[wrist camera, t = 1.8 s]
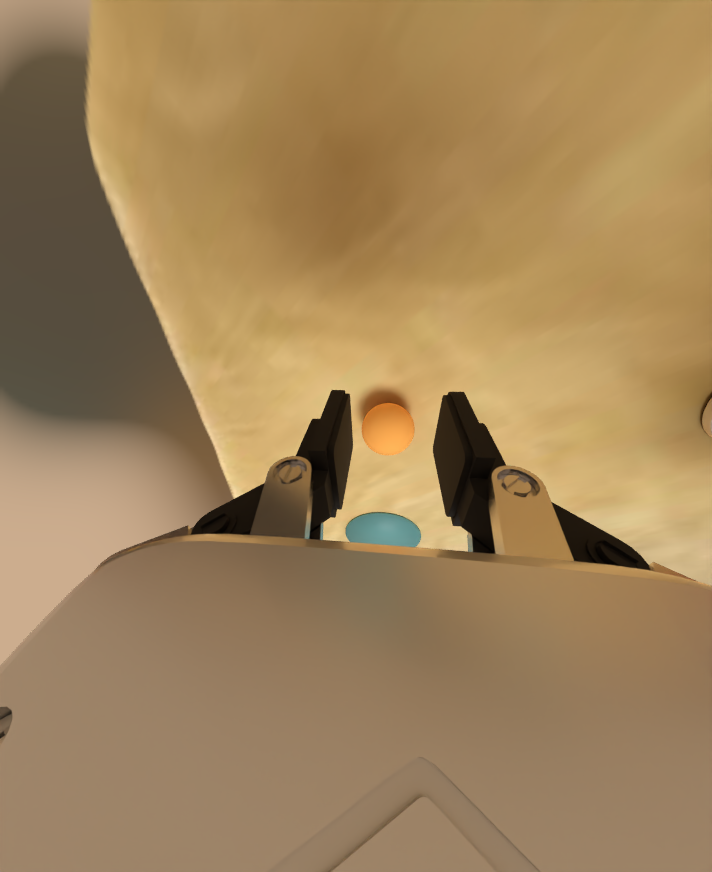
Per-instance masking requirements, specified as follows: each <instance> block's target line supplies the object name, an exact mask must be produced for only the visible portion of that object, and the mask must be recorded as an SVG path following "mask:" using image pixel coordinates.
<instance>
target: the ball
mask: <svg viewBox="0 0 712 872" xmlns="http://www.w3.org/2000/svg"><path fill="white" fill-rule="evenodd" d="M362 435H363V438H364V441H365V443H366V444H367V445H368V447H369V448H370V449H372V450H373V451H374V452H376V453H379V454H382V455H394V454H398V453H400V452H402V451H403V450H405V449H406V448H407V447H408V446H409V444H410V443H411V441H412V439H413V436H414V422H413V419H412V417H411V415H410V414H409V413H408V412H407V410H406V409H404V408H403V407H401V406H399V405H397V404H393V403H383V404H380V405H377V406H375V407H374V408H372V409H371V410H370V411H369V412H368V413H367V414H366V416H365V418H364V420H363V424H362Z"/></svg>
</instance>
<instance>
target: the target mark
mask: <svg viewBox="0 0 712 872" xmlns="http://www.w3.org/2000/svg"><path fill="white" fill-rule="evenodd" d="M346 536H347V538H348V540H349V541H350V542H354V543H367V544H379V545H392V546H404V547H416V546H417V545H418V544H419V542H420V539H421V534H420V530H419V529H418V527H417V526H416V525H415V524H414V523H413V522H412V521H410V520H408V519H406V518H404V517H402V516H399V515H395V514H390V513H368V514H364V515H361V516H358V517H356V518H354V519H353V520H351V521H350V522H349V524H348V525H347V527H346Z"/></svg>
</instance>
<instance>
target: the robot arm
mask: <svg viewBox="0 0 712 872" xmlns="http://www.w3.org/2000/svg"><path fill="white" fill-rule="evenodd" d="M702 424H703V429H704V430H705V432H706V433H707V434H708V435H709V436H710V437H712V398H711V399H710V400H709V402H708V404H707V406H706V408H705V410H704V412H703V418H702ZM352 449H353V437H352V421H351V405H350V394H345V390H332V391H331V393H330V396H329V398H328V401H327V403H326V406H325V408H324V411H323V413H322V416H321V418H320V419H312V420H311V422H310V425H309V427H308V429H307V432H306V434H305V436H304V438H303V441H302V443H301V445H300V447H299V450H298V452H297V454H296V456H291V457H286V458H283V459H281V460H279V461H277V462H276V463H274V464H273V465H272V466H271V467H270V469H269V471H268V474H267V477H266V481H265V483H264V484H262V485H260V486H258V487H256V488H254V489H252V490H251V491H249V492H247V493H245V494H243V495H241V496H239V497H237V498H235V499H233V500H231V501H230V502H228V503H226V504H224V505H222V506H220V507H218V508H216V509H214V510H212V511H211V512H209V513H207V514H206V515H204V516H203V517H202V518H201V519H200V520H199V521H198V522H197V523H196V525H195V526H194V527H193V528H190V527H189V526H185V527H182V528H180V529H177V530H174V531H171V532H169V533H166V534H163V535H161V536H158V537H155V538H153V539H150V540H147V541H145V542H142V543H140V544H137V545H134V546H132V547H129V548H126V549H124V550H121V551H119V552H117V553H115V554H113V555H111V556H110V557H108V558H107V559H106V560H104V561H103V562H102V563H101V564H100V565H99V566H98V567H97V568H96V569H95V570H94V571H93V572H92V573H91V574H90V575H89V576H88V577H87V578H85V579H84V580H83V581H82V582H81V583H80V584H79V585H78V586H76V587H75V588H74V589H73V590H72V591H71V592H70V593H69V594H68V595H67V596H66V597H65V598H64V599H63V600H62V601H61V602H60V603H59V604H58V605H57V606H56V607H55V608H54V609H53V610H52V611H51V612H50V613H49V614H48V615H47V616H46V617H45V618H44V619H43V621H42V622H41V623H40V624H39V625H38V626H37V627H36V628H35V629H34V630H33V631H32V632H31V633H30V634H29V635H28V636H27V637H26V638H25V640H24V641H23V642H22V643H21V644H20V645H19V646H18V647H17V648H16V649H15V651H13V652H12V654H11V655H10V656H9V657H8V658H7V659H6V660H5V661H4V662H3V663H2V664H1V666H0V872H712V586H711V585H707V584H704V583H700V582H697V581H695V580H693V579H691V578H688V577H686V576H684V575H682V574H679V573H677V572H675V571H673V570H670V569H668V568H666V567H664V566H661V565H659V564H657V563H655V562H653V563H651V564H650V565H648V564H647V563H646V561H645V560H644V559H643V558H642V556H641V555H639V554H638V553H637V552H636V551H635V550H634V549H633V548H631V547H630V546H628V545H627V544H625V543H624V542H622V541H621V540H619V539H617V538H615V537H614V536H612V535H610V534H608V533H606V532H605V531H603V530H601V529H599V528H597V527H596V526H594V525H592V524H590V523H588V522H587V521H585V520H583V519H581V518H579V517H578V516H576V515H574V514H572V513H570V512H569V511H567V510H565V509H563V508H561V507H560V506H558V505H556V504H554V503H552V502H551V500H550V497H549V495H548V492H547V490H546V487H545V485H544V484H543V482H542V481H541V480H540V479H539V478H538V477H537V476H536V475H534V474H533V473H531V472H530V471H527V470H525V469H523V468H520V467H516V466H506V464H505V462H504V460H503V458H502V456H501V454H500V452H499V450H498V448H497V446H496V445H495V443H494V441H493V439H492V437H491V435H490V433H489V431H488V429H487V427H486V426H485V424H483V423H479V422H478V420H477V418H476V416H475V414H474V412H473V409H472V407H471V405H470V403H469V401H468V399H467V397H466V395H465V393H464V392H449V393H448V395H444V396H443V398H442V403H441V408H440V413H439V419H438V424H437V429H436V434H435V439H434V445H433V454H434V459H435V464H436V469H437V474H438V479H439V484H440V488H441V493H442V498H443V503H444V508H445V513H446V516H447V517H451V519H452V524H453V526H461V527H462V528H464V529H465V530H466V531H468V535H467V538H468V552H465V551H453V550H441V549H429V548H417V547H404V546H392V545H379V544H367V543H354V542H341V541H328V540H323V522H324V521H326V520H327V519H329V518H330V517H336V511H337V509H342V505H343V499H344V494H345V488H346V483H347V477H348V471H349V466H350V460H351V455H352Z"/></svg>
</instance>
